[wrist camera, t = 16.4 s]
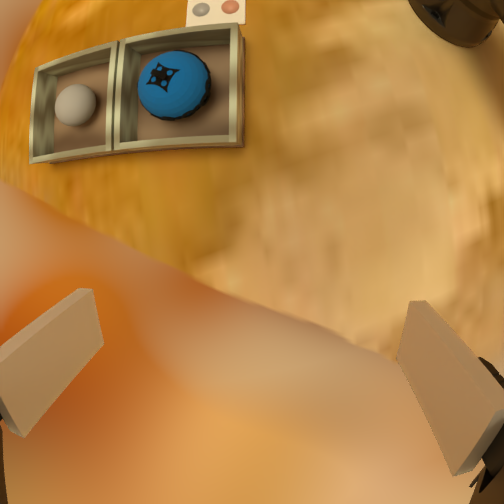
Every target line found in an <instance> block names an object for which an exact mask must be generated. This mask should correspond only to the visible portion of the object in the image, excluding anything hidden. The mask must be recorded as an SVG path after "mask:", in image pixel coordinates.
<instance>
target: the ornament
mask: <svg viewBox="0 0 504 504" xmlns="http://www.w3.org/2000/svg"><path fill="white" fill-rule="evenodd" d="M210 73H211V72H210V70H209V68H208V66H207V65H206V63H205V62H203V61H202V60H201V59H200V57H199V56H197V55H196V54H194V53H191V52H188V51H183V50H173V51H171V52H166V53H163V54H161V55H159V56H157V57H155V58H154V59H152V60H151V61H150V62H149V63H148V64H147V65H146V66H145V67H144V69H143V71H142V72H141V75H140V77H139V80H138V83H137V89H138V95H139V98H140V102H141V104H142V105H143V107H144V108H145V109H146V110H147V111H148V112H149V113H150V115H152V116H154V117H156V118H158V119H161V120H163V121H164V120H166V121H175V120H178V119H182V118H187V117H190V116H192V115H193V114H194V113H195V112H196V111H197V110H199V109H200V108H201V106H204V105H205V104H206V103H207V102H208V100H209V98H210V94H211V93H210V90H211V75H210Z"/></svg>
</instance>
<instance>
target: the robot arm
mask: <svg viewBox="0 0 504 504" xmlns="http://www.w3.org/2000/svg"><path fill="white" fill-rule="evenodd" d="M409 2H410V4H411V6H412V8H413V9H414V11H415V12H416V14H417V15H418V16H419V18H420V19H421V20H422V21H423V22H424V23H425V24H426V25H427V26H428V27H429V28H430V29H431V30H432V31H434V32H435V33H436V34H437V35H439V36H440V37H442V38H443V39H445V40H447V41H449V42H451V43H453V44H456V45H459V46H463V47H473V46H476V45H478V44H480V43H482V42H484V41H486V40H487V39H488V38H489V36H490V34H491V32H492V30H493V29H494V28H495V26H496V24H497V23H498V21H499V20H500V19H501V20H502V22H503V23H504V0H409ZM103 344H104V341H103V337H102V333H101V328H100V323H99V319H98V314H97V309H96V304H95V299H94V293H93V289H85V288H78V289H77V290H76V291H74V292H73V293H71V294H70V295H68V296H67V297H66V298H64V299H63V300H61V301H60V302H59V303H57V304H56V305H55V306H53V307H52V308H50V309H49V310H48V311H46V312H45V313H44V314H42V315H41V316H40V317H38V318H37V319H36V320H34V321H33V322H31V323H30V324H29V325H27V326H26V327H25V328H24V329H22V330H21V331H20V332H19V333H17V334H16V335H14V336H13V337H12V338H11V339H9V340H8V341H7V342H5V343H4V344H3V345H2V346H0V421H1V420H2V419H3V420H4V421H5V423H6V425H7V426H8V428H9V430H10V431H12V432H14V433H16V434H17V435H19V436H21V437H23V438H25V437H26V435H27V434H28V433H29V432H30V430H31V429H32V428H33V427H34V425H35V424H36V423H37V422H38V420H39V419H40V418H41V417H42V416H43V414H44V413H45V412H46V410H47V409H48V408H49V407H50V406H51V405H52V403H53V402H54V401H55V400H56V399H57V397H58V396H59V395H60V394H61V393H62V392H63V390H64V389H65V388H66V387H67V386H68V384H69V383H70V382H71V381H72V380H73V379H74V378H75V376H76V375H77V374H78V373H79V372H80V371H81V369H82V368H83V367H84V366H85V365H86V364H87V363H88V361H89V360H90V359H91V358H92V357H93V356H94V354H95V353H96V352H97V351H98V350H99V349H100V348H101V347H102V346H103ZM396 359H397V361H398V363H399V365H400V367H401V368H402V370H403V372H404V374H405V376H406V378H407V380H408V382H409V384H410V386H411V388H412V390H413V392H414V394H415V395H416V398H417V400H418V402H419V404H420V406H421V408H422V410H423V412H424V414H425V416H426V418H427V420H428V423H429V424H430V427H431V429H432V431H433V433H434V435H435V438H436V440H437V442H438V444H439V446H440V448H441V451H442V453H443V455H444V457H445V460H446V462H447V465H448V467H449V469H450V472H451V474H452V476H453V477H454V476H457V475H460V474H463V473H466V472H469V471H472V470H473V469H474V468H475V466H476V465H477V464H478V462H479V461H480V460H481V458H482V459H483V461H484V463H485V467H484V468H483V469H482V470H481V471H480V473H479V474H478V475H477V477H476V478H475V479H474V480H473V481H472V483H471V484H470V486H469V487H473V485H474V484H475V483H476V482H477V484H476V487H475V490H474V493H473V495H472V498H471V500H470V503H469V504H504V378H503V377H502V376H501V375H499V372H498V371H497V370H496V369H495V367H494V366H493V365H492V364H491V363H489V362H488V361H486V360H485V359H483V358H481V357H477V356H476V355H475V354H474V353H473V352H472V351H471V349H470V348H469V347H468V346H467V345H466V344H465V343H464V341H463V340H462V339H461V338H460V337H459V336H458V335H457V334H456V333H455V331H454V330H453V329H452V328H451V327H450V326H449V325H448V324H447V323H446V322H445V321H444V319H443V318H442V317H441V316H440V315H439V314H438V313H437V312H436V311H435V310H434V309H433V308H432V307H431V306H430V305H429V304H428V303H427V302H426V301H410V302H409V306H408V311H407V316H406V321H405V325H404V329H403V333H402V338H401V342H400V346H399V349H398V353H397V357H396ZM2 442H3V441H2V429H1V426H0V504H8V501H7V494H6V485H5V477H4V464H3V443H2Z"/></svg>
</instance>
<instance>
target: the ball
mask: <svg viewBox="0 0 504 504" xmlns="http://www.w3.org/2000/svg"><path fill="white" fill-rule="evenodd" d="M95 107H96V97H95V94H94V92H93V91H92V90H91V89H90V88H89V87H88V86H86V85H83V84H74V85H70V86H68V87H66V88H65V89H64V90H63V91H62V92H61V93H60V94H59V96H58V97H57V99H56V102H55V113H56V116H57V118H58V119H59V121H60V122H61V123H63V124H65V125H67V126H78V125H81V124H83V123H85V122H86V121H87V120H88V119H89V118H90V117H91V116H92V114H93V113H94V110H95Z"/></svg>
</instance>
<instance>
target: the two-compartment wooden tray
mask: <svg viewBox="0 0 504 504" xmlns="http://www.w3.org/2000/svg"><path fill="white" fill-rule="evenodd" d="M173 50H183V51H188V52H191V53H194V54H196V55H197V56H199V57H200V59H201V60H202V61H203V62H205V63H206V65H207V66H208V68H209V70H210V72H211V73H210V75H211V90H210V93H211V94H210V98H209V100H208V102H207V103H206V104H205V105H204V106H201V108H200V109H199V110H197V111H196V112H195V113H194V114H193V115H192V116H190V117H187V118H182V119H178V120H175V121H166V120H164V121H163V120H161V119H158V118H156V117H154V116H152V115H150V113H149V112H148V111H147V110H146V109H145V108H144V107H143V105H142V104H141V102H140V98H139V95H138V89H137V83H138V80H139V77H140V75H141V72H142V71H143V69H144V67H145V66H146V65H147V64H148V63H149V62H150V61H151V60H152V59H154V58H155V57H157V56H159V55H161V54H163V53H166V52H171V51H173ZM74 84H83V85H86V86H88V87H89V88H90V89H91V90H92V91H93V92H94V94H95V97H96V107H95V110H94V113H93V114H92V116H91V117H90V118H89V119H88V120H87V121H86V122H85V123H83V124H81V125H78V126H67V125H65V124H63V123H61V122H60V121H59V119H58V118H57V116H56V113H55V102H56V99H57V97H58V96H59V94H60V93H61V92H62V91H63V90H64V89H65V88H66V87H68V86H70V85H74ZM244 98H245V38H244V37H242V34H241V31H240V28H239V24H238V22H234V23H219V24H208V25H199V26H191V27H183V28H176V29H170V30H164V31H158V32H153V33H148V34H143V35H138V36H134V37H129V38H125V39H121V40H120V42H119V41H118V40H117V41H113V42H109V43H106V44H102V45H99V46H95V47H92V48H89V49H85V50H82V51H79V52H76V53H73V54H70V55H67V56H65V57H62V58H59V59H56V60H54V61H51V62H49V63H46V64H44V65H41V66H39V67H36V68H35V73H34V80H33V89H32V100H31V113H30V135H29V164H35V163H48V162H49V163H50V164H54V163H59V162H66V161H72V160H79V159H86V158H93V157H101V156H109V155H118V154H128V153H138V152H149V151H162V150H178V149H197V148H230V147H244Z"/></svg>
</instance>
